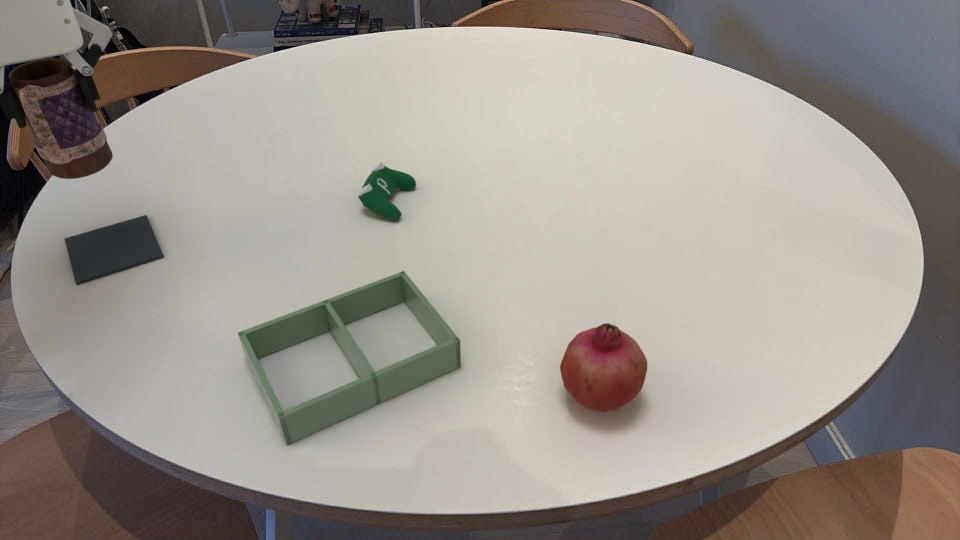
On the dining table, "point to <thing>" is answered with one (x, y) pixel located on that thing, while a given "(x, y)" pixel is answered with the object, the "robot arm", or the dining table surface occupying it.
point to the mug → (60, 118)
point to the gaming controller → (384, 190)
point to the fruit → (603, 368)
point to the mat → (112, 249)
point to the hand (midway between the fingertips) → (57, 113)
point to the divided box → (351, 353)
